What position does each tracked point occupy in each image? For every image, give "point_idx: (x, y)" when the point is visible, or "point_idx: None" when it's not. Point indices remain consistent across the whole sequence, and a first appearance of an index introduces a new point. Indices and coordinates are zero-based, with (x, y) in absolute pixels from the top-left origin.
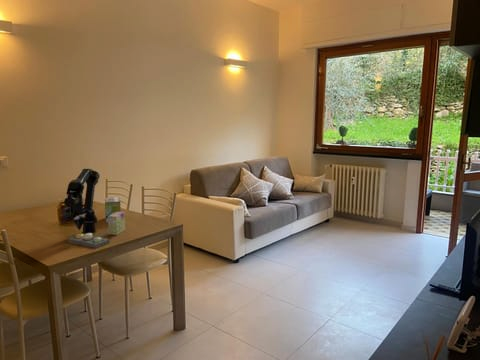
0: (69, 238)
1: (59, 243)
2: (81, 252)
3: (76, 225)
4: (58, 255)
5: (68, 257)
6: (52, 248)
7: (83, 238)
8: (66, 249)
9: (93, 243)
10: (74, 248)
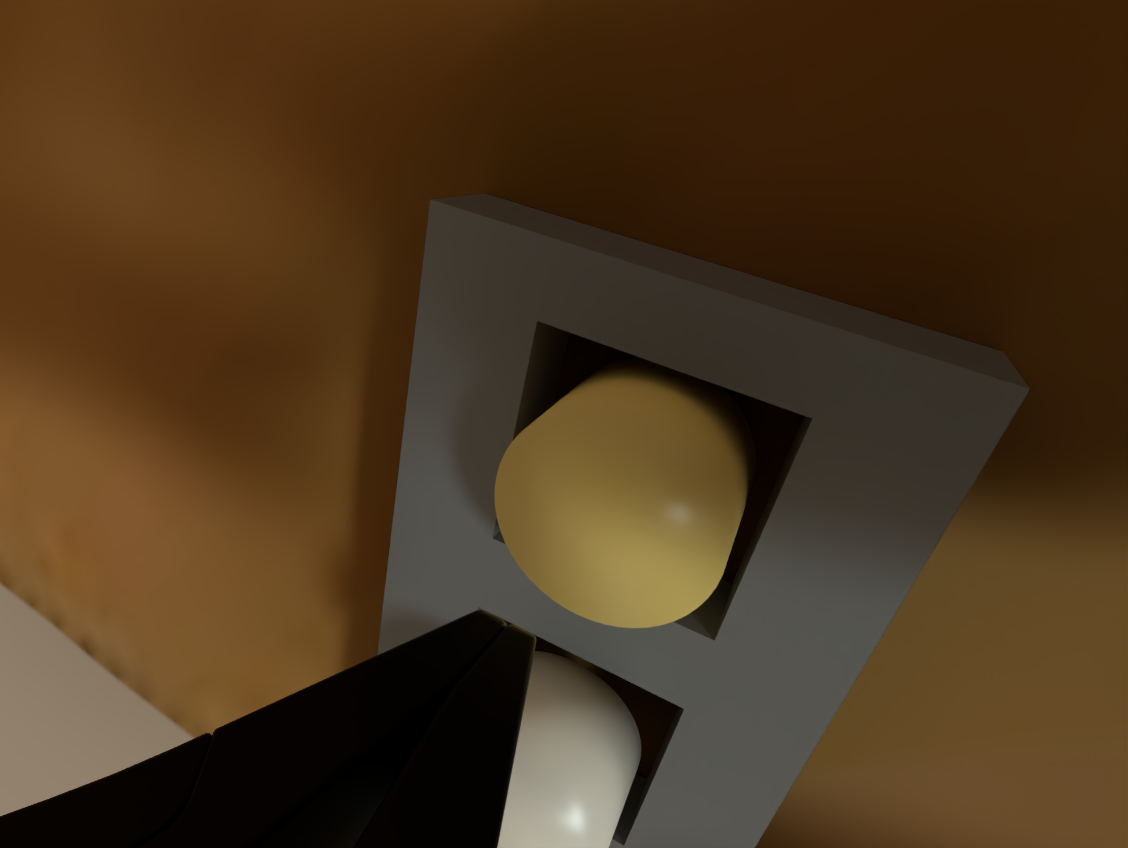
0: (454, 246)
1: (342, 33)
2: (217, 684)
3: (282, 723)
4: (38, 444)
5: (71, 592)
6: (113, 133)
7: (552, 616)
8: (195, 433)
9: None
10: (270, 539)
